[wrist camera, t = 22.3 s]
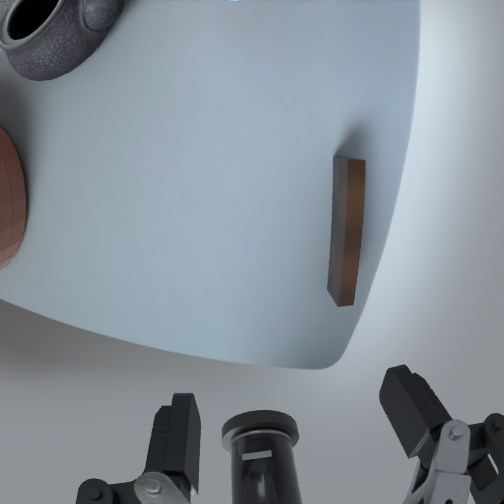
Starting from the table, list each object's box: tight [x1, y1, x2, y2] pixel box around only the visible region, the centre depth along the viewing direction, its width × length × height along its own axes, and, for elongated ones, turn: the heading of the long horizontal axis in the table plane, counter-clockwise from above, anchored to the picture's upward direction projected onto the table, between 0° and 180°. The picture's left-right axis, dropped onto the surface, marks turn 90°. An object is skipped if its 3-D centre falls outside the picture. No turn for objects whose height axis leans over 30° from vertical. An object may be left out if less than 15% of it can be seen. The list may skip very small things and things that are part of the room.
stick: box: [327, 157, 365, 307], centre depth 25 cm, size 13×2×4 cm, turn 2°
